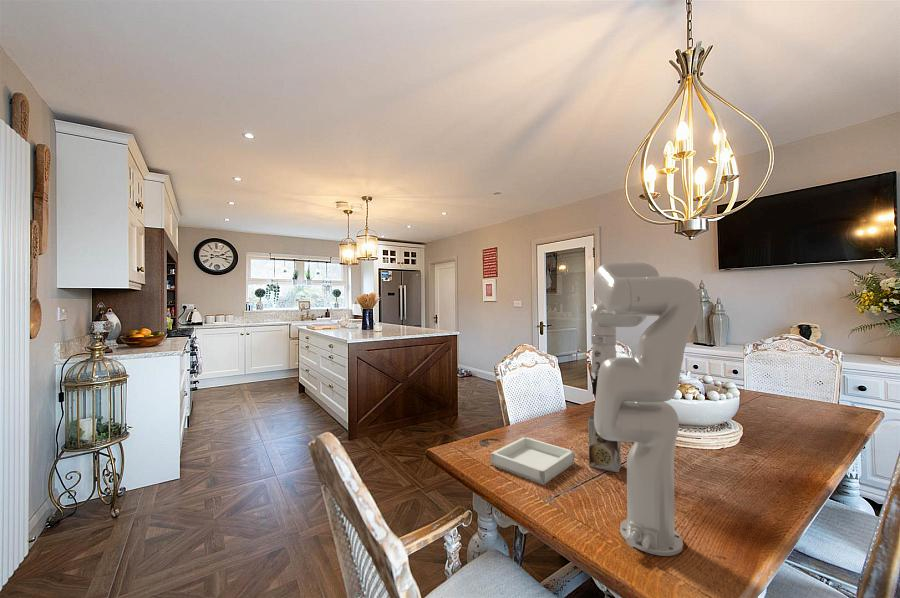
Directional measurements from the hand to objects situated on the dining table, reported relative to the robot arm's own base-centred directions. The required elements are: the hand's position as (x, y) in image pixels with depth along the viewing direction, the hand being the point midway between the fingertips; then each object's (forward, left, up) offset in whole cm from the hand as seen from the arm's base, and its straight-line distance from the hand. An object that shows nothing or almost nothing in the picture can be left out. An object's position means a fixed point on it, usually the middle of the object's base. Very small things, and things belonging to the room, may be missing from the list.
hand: (603, 391), depth 121 cm
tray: (-15, +18, -24) cm, 34 cm away
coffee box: (0, 0, -25) cm, 25 cm away
